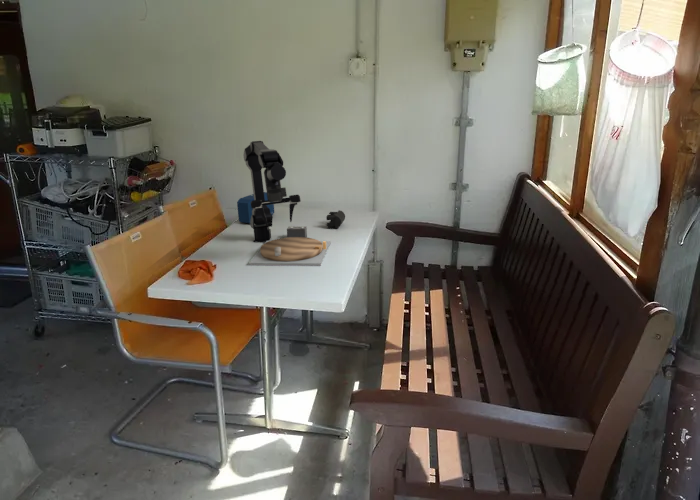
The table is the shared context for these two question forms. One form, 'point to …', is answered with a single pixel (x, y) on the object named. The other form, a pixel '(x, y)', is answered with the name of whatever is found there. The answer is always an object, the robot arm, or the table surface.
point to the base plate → (313, 261)
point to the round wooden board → (291, 249)
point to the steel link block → (296, 231)
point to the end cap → (335, 219)
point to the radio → (249, 208)
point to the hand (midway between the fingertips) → (278, 223)
